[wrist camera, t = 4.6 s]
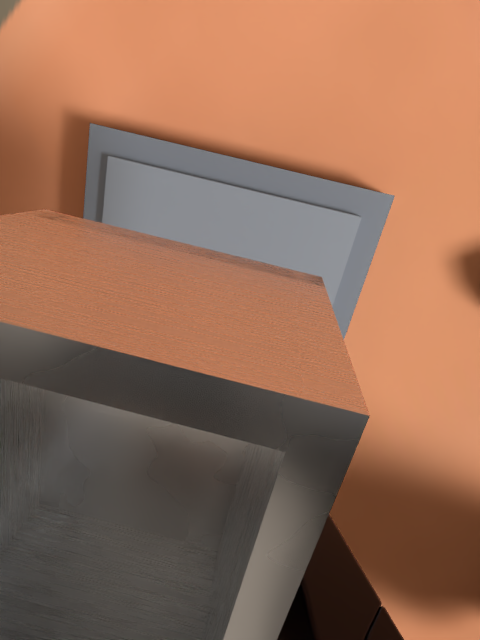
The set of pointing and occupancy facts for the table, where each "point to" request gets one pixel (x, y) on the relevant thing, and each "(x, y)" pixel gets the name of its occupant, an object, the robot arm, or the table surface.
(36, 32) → the table surface
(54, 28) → the table surface
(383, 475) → the table surface
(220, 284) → the box
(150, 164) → the stand
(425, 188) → the table surface
